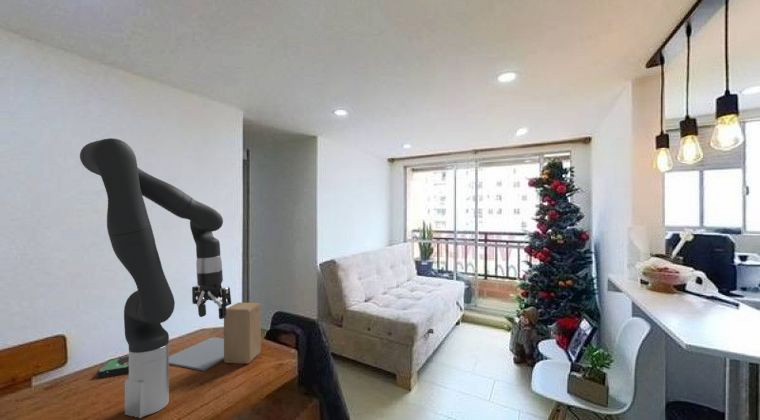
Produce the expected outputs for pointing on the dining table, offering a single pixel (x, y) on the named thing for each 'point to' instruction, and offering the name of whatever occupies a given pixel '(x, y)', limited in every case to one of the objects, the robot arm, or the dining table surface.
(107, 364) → the disk drive
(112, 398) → the dining table surface
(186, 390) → the dining table surface
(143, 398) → the robot arm
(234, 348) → the wooden block
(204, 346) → the mat
